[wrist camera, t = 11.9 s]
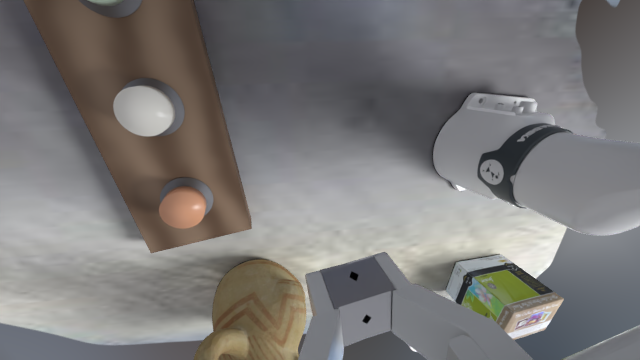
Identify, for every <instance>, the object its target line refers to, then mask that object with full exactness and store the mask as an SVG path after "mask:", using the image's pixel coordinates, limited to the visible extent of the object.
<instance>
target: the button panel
mask: <svg viewBox="0 0 640 360" xmlns="http://www.w3.org/2000/svg"><path fill="white" fill-rule="evenodd" d="M24 2H25V4H26V6H27V8H28V10H29V12H30V14H31V16H32V18H33V20H34V22H35V24H36V26H37V28H38V30H39V32H40V34H41V36H42V38H43V40H44V42H45V44H46V46H47V48H48V50H49V52H50V54H51V56H52V58H53V60H54V62H55V64H56V66H57V68H58V70H59V72H60V74H61V76H62V78H63V80H64V82H65V84H66V86H67V88H68V90H69V92H70V94H71V96H72V98H73V100H74V101H75V103H76V105H77V107H78V109H79V111H80V113H81V115H82V117H83V119H84V121H85V123H86V125H87V127H88V129H89V131H90V133H91V135H92V137H93V139H94V141H95V143H96V145H97V147H98V149H99V151H100V153H101V155H102V157H103V159H104V161H105V163H106V165H107V167H108V169H109V171H110V173H111V175H112V177H113V179H114V181H115V183H116V185H117V187H118V189H119V191H120V193H121V195H122V197H123V199H124V201H125V203H126V205H127V206H128V208H129V210H130V212H131V214H132V216H133V218H134V220H135V222H136V224H137V226H138V228H139V230H140V232H141V234H142V236H143V238H144V240H145V242H146V244H147V246H148V248H149V250H150V252H151V253H154V252H158V251H162V250H166V249H170V248H174V247H179V246H183V245H187V244H191V243H195V242H199V241H203V240H207V239H211V238H216V237H220V236H224V235H228V234H232V233H236V232H240V231H244V230H248V229H252V227H251V216H250V213H249V209H248V205H247V201H246V197H245V194H244V190H243V186H242V182H241V178H240V175H239V171H238V167H237V163H236V159H235V156H234V152H233V148H232V144H231V140H230V137H229V133H228V129H227V125H226V121H225V118H224V114H223V110H222V106H221V102H220V99H219V95H218V91H217V87H216V83H215V80H214V76H213V72H212V68H211V64H210V61H209V57H208V53H207V49H206V45H205V42H204V38H203V34H202V30H201V26H200V23H199V19H198V15H197V11H196V7H195V4H194V0H123V1H122V2H121V3H119V4H117V5H114V6H101V5H98V4H95V3H92V2H90V1H88V0H24ZM143 85H144V86H151V87H154V88H157V89H159V90H161V91H162V92H163V93H165V94H166V95H167V96H168V97H169V98H170V100H171V101H172V103H173V105H174V108H175V119H174V122H173V123H172V125H171V126H170V127H169V128H168V129H166V130H165V131H164V132H162V133H160V134H158V135H156V136H149V137H148V136H140V135H136V134H134V133H132V132H130V131H128V130H127V129H125V128H124V127H123V126H122V125H121V124H120V123H119V121H118V120H117V118H116V116H115V114H114V109H113V104H114V100H115V97H116V96H117V94H118V93H119V92H120V91H122V90H123V89H125V88H128V87H134V86H143ZM181 186H188V187H192V188H195V189H197V190H199V191H200V192H201V193H202V194H203V195H204V197H205V199H206V202H207V206H206V210H205V214H204V217H203V219H202V220H201V222H200V223H198V224H197V225H195V226H193V227H191V228H186V229H180V228H174V227H172V226H169V225H168V224H166V223H165V222H164V221H163V220H162V218H161V217H160V214H159V206H160V204H161V202H162V201H163V199H164V197H165V196H166V194H167V193H168V192H169V191H170V190H172V189H174V188H176V187H181Z"/></svg>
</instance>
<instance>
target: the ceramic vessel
mask: <svg viewBox="0 0 640 360" xmlns="http://www.w3.org/2000/svg"><path fill="white" fill-rule="evenodd" d="M212 321H213V331H214V332H212V333H211V334H210V335H209V336H207V337H206V338H205V339H204V340H203V342H202V343H201V344H200V346H199V348H198V350H197V351H196V354H195V357H194V360H298V358H299V354H298V346H299V343H300V340H301V337H302V334H303V331H304V328H305V324H306V304H305V293H304V291H303V288H302V286H301V284H300V282H299V281H298V280H297V279H296V278H295V277H294V275H292V274H291V273H290V272H289V271H288V270H287V269H285V268H284V267H282V266H281V265H279V264H277V263H275V262H272V261H269V260H263V259H259V260H250V261H247V262H244V263H242V264H240V265H238V266H236V267H234V268H233V269H231V270H230V271H229V272H228V273H227V274H226V275H225V276H224V277H223V278H222V280H221V282H220V283H219V285H218V288H217V290H216V294H215V297H214V302H213V311H212Z"/></svg>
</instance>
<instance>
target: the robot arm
mask: <svg viewBox="0 0 640 360" xmlns="http://www.w3.org/2000/svg"><path fill="white" fill-rule="evenodd" d="M536 107H537V102H535V100H534V99H532V98H527V97H516V96H506V95H495V94H484V93H472V94H470V95H469V96H468V97H467V99H466V100H465V102H464V103H463V105H462V107H461V108H460V110H459V111H458V112H457V113H455V114H454V115H453V116H452V117H451V118H450V119H449V120H448V121H447V122H446V124H445V125H444V126H443V128H442V129H441V131H440V133H439V135H438V137H437V139H436V142H435V146H434V151H433V162H434V166H435V169H436V171H437V172H438V174H439V175H440V176H441V177H443V178H445V179H447V180H448V181H450V182H451V184H452V186H453V187H454V188H455V189H456V190H458V191H463V190H466V189H467V190H469V191H472V192H474V193H477V194H479V195H482V196H484V197H487V198H489V199H496V198H500V199H502V200H503V201H505V202H506V203H509V204H511V205H515V206H517V207H520V208H528V209H530V210H532V211H534V212H536V213H538V214H540V215H543V216H545V217H547V218H549V219H551V220H553V221H555V222H557V223H559V224H561V225H563V226H566V227H568V228H570V229H572V230H574V231H577V232H580V233H584V234H589V235H599V236H600V235H612V234H618V233H621V232H625V231H627V230H630V229H633V228H635V227H638V226H640V143H635V142H625V141H616V140H609V139H601V138H595V137H588V136H583V135H577V134H573V133H572V132H571V131H569V130H567V129H565V128H563V127H560V126H557V125H555V121H554V118H553V116H552V115H551V114H548V113H542V112H536V111H537V110H536ZM305 277H306V283H307V288H308V294H309V299H310V304H311V309H312V313H313V317H312V320H311V323H310V326H309V328H308V331H307V334H306V338H305V340H304V344H303V346H302V349H301V352H300V355H299V358H298V360H342V359H343V352H344V347H345V346H347V345H350V344H353V343H355V342H358V341H361V340H363V339H366V338H369V337H371V336H375V335H378V334H381V333H384V332H387V331H391V330H392V332H393V333H394V334H395V335H397V336H398V337H399V338H400V339H402V340H403V341H404V342H406V343H407V344H408V345H409V346H411V347H412V348H413V349H415V350H416V351H417V352H419V353H420V354H421V355H422V356H424V357H425V358H426V359H428V360H533V359H532V358H531V357H530V356H529V355H528V354H527V353H526V352H525V351H524V350H523V349H522V348H521V347H520V346H519V345H518V344H517V343H516V342H515V341H514V340H513V339H512V338H511V337H510V336H509V335H508V334H507V333H506V332H505V331H504V330H503V329H502V328H501V327H500V326H499V325H498V324H497V323H496V322H495V321H493V320H491V319H489V318H487V317H485V316H483V315H481V314H479V313H476V312H474V311H472V310H470V309H468V308H466V307H464V306H462V305H460V304H457V303H455V302H453V301H451V300H449V299H447V298H445V297H443V296H441V295H438V294H436V293H434V292H432V291H430V290H428V289H426V288H424V287H422V286H420V285H417V284H413V285H412V284H411V283H410V282H409V281H408V279H407V278H406V277H405V276H404V274H403V273H402V272H401V270H400V269H399V268H398V267H397V265H396V264H395V263H394V262H393V260H392V259H391V258H390V256H389V255H388V254H387V253H386V252H382V253H379V254H375V255H372V256H369V257H365V258H362V259H358V260H355V261H352V262H348V263H346V264H342V265H338V266H334V267H330V268H326V269H322V270H320V271H316V272H312V273H308V274H306V275H305ZM562 360H640V325H639V326H637V327H634V328H632V329H630V330H628V331H625V332H623V333H621V334H618V335H616V336H614V337H612V338H609V339H607V340H605V341H602V342H600V343H598V344H596V345H594V346H591V347H589V348H587V349H584V350H582V351H580V352H578V353H576V354H573V355H571V356H569V357H567V358H564V359H562Z"/></svg>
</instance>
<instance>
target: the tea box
mask: <svg viewBox="0 0 640 360" xmlns="http://www.w3.org/2000/svg"><path fill="white" fill-rule="evenodd" d="M446 291H447V293H448V294H449V295H450V296H451V297H452V298H453V299H454V300H455V301H456V303H457V304H460V305H462V306H464V307H466V308H468V309H470V310H472V311H474V312H476V313H479V314H481V315H483V316H485V317H487V318H489V319H491V320H493V321H495V322H496V323H497V324H498V325H499V326H500V327H501V328H502V329H503V330H504V331H505V332H506V333H507V334H508V335H509V336H510V337H511V338H512V339H513V340H515V339H518V338H521V337H525V336H527V335H530V334H533V333H536V332H539V331H543V330H545V328H546V327H547V326H548V324H549V322H550V321H551V319H552V317H553V316H554V314H555V313H556V311H557V310H558V308H559V306H560V305H561V303H562V302H563V300H564V299H563V298H562V297H560V296H559V295H557V294H556V293H555V292H553V291H552V290H550V289H549V288H548V287H546V286H545V285H543V284H542V283H541V282H539V281H538V280H536V279H535V278H534V277H532V276H531V275H529V274H528V273H526V272H525V271H524V270H522V269H521V268H519V267H518V266H517V265H515V264H514V263H512V262H511V261H510V260H508V259H507V258H505V257H504V256H502V255H496V256H490V257H484V258H478V259H472V260H466V261H460V262H456V264H455V267H454V269H453V272H452V274H451V277H450V280H449V283H448V285H447V288H446Z"/></svg>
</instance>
